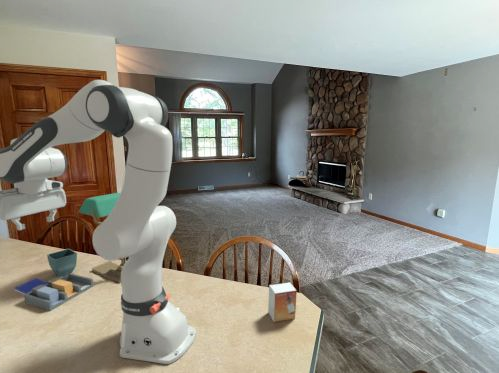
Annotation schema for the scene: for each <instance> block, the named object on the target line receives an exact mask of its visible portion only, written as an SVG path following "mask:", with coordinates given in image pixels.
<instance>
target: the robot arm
mask: <svg viewBox="0 0 499 373" xmlns="http://www.w3.org/2000/svg"><path fill="white" fill-rule="evenodd" d="M168 121H169V108H168V106H167V104H166V103H165V102H164V101H163V99H161V98H160V97H158V96H156V95H154V94H152V93H151V94H150V93H146V92H143V91H140V90H137V89H135V88H131V87H124V86H123V87H122V86H116V85H114V84H113V83H111V82H109V81H107V80H104V79H94V80H92V81H90V82H88V84H86V85H84V86H83V87H82V88H81V89H79V90H78V92H76V93H75V94H74V95H73V96H72V98H71V99H70V100H69V101H68V102H67V103H66V104H65V105H63V106H62V107H61V108H60V109H58V110H57V111H55V112H53V113H52V114H50V115H48V116H46V117H43V118H42V119H40V120H38V121H36V122H35V123H33V125H31V126H30V127H29V128H28V129H27V130H26V131H25V132H23V133H22V134H21V135H20V136H19V137H15V138H13V139H12V140H10V142H9V143H10V145H8V146H6V147H2V148H1V149H0V180H1V181H4V182H6V183H8V184H12V185H13V188H10V189H1V190H0V220H1V221H8V220H10V221H11V222H12V223H14V225H16V231H23V230H26V224H25V223H21V222H20V220H21V217H25V216H28V215H33V214H34V215H35V214H38V213H42V212H46V211H48V212H49V215H48V216H46V217H45V218H46V222H48V223H52V222H55V216H56V213H57V212H58V210H57V209H60V208H64V207H66V205H67V196H66V192H65V190H64V189H63V188H64V183H63V182H62V181H57V180H53V179H51V178H57V177H60V176H63V175H64V174H65V173H66V171H67V169H68V159H67V156H66V155H65V154H64V152H63V151H62V150H60V149H59V148H55V146H60V145H66V144H74V143H75V144H77V143H83V142H84V143H85V142H89V141H92V140H94V139H96V138H97V137H99V136H100V135H102V134H103V133H104V132H105V131H106V132H108V133H109V134H111V136H113V137H115V138H118V139H119V138H122V137H124V138H125V139H126V140H127V143H128V144H127V145H128V150H127V151H128V152H127V157H126V166H125V172H124V178H123V184H122V187H121V188H122V189H121V192H120V193H121V194H120V196H119V198H118V200H117V202H116V204H115V206H114V208H113V209H112V211H111V213H110V214H109V215H108V216H106V218H105V219H104V220H103V221H101V222H102V223H101V224H98V226H97V227H96V228H95V229H94V231H93V234H92V246H93V249H94V251H95V252H96V254H97V255H98V256H99V257H100V258H102V259H104V260H106V261H107V262H108V261H111V262H112V261H116V260H121V258H125V257H126V258H127V259H126V263H125V264H124V266H123V268H122V271H121V283H120V284H121V295H120V305H121V310H122V322H121V331H120V332H121V333H120V337H119V346H120V350H119V357H120V358H123V359H130V360H137V361H145V362H149V363H150V362H152V363H156V364H157V363H158V364H164V365H170V364H172V363H174V362H176V361H177V360H178V359H180V358H181V357H182V356H183V355H185V353H186V352H187V351H188V350H189V349H190V347H191V345H193V342H194V341H195V338H196V335H197V331H196V328H195V327H193V326H191V325H189V324H188V320H187V317H186V315H185V314H184V313H183V312H182V311H181V309H180V308H179V307H177V306H175V305H174V304H173V303H171V301H169V299H170V298H171V293H168V294H167V293H166V291H165V289H164V286H163V263H164V262H163V261H164V256H165V252H166V249H167V245H168V242H169V240H170V237H171V236H172V234H173V232H174V231H175V230H176V226H177V218H176V215H175V213H174V211H173V210H172V209H171V208H169V207H168V206H166V205H159V204H161V202H162V201H163V200H164V198H165V197H166V195H167V193H168V192H167V191H168V185H169V181H170V180H169V179H170V175H171V174H170V173H171V170H172V168H171V167H172V162H173V147H174V146H173V136H172V133H171V131H170V130H169V129H168V128H167V127H166V125H167V123H168Z"/></svg>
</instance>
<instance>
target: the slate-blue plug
mask: <svg viewBox="0 0 499 373" xmlns="http://www.w3.org/2000/svg"><path fill="white" fill-rule="evenodd" d="M32 293H33V296H36V297H39V298H43V299H46V300H49V301H52V303H54V302H56V301H58V300H59V296H58V290H57V289H53V288H50V287H47V286H44V285H39V286H37V287H35V288H33V289H32Z"/></svg>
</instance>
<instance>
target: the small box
mask: <svg viewBox="0 0 499 373" xmlns="http://www.w3.org/2000/svg"><path fill="white" fill-rule="evenodd" d="M297 292H298V291H297V289H296V288H295V287H294V285H293V284H292V282H285V283H277V284H269V285H268V306H267V313H268V315H269V316H270V318H271V321H272V322H274V323H277V322H282V321H288V320H289V321H290V320H295V319H296V310H297V307H296V306H297Z"/></svg>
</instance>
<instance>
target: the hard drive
mask: <svg viewBox="0 0 499 373" xmlns="http://www.w3.org/2000/svg"><path fill="white" fill-rule="evenodd" d="M47 282H48V281H47ZM47 282H46V281H45V280H42V279H40V278H34V279H31V280H29V281H27V282H24V283H22V284H19V285H16V286H14V287H13V291H15V292H18V293H20V294H22V295H25V294H27V293H29V292H31V291H32V289H33V288H35V287H37V286H39V285H46V284H47Z"/></svg>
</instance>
